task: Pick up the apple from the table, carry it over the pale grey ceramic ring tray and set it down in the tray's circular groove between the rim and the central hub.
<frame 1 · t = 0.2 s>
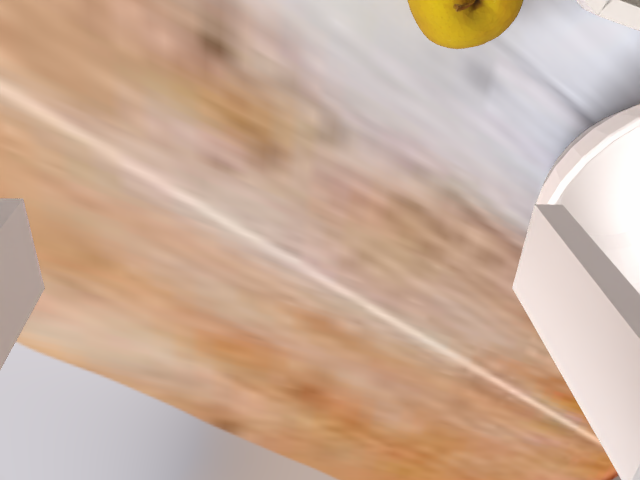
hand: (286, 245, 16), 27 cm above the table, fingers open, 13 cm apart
bowl: (615, 178, 47), on the table
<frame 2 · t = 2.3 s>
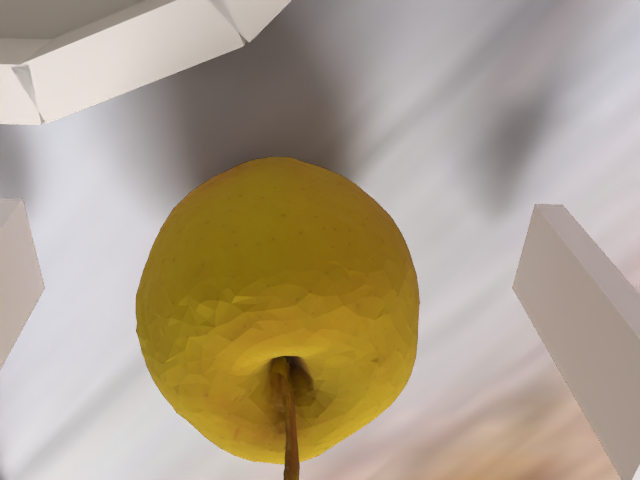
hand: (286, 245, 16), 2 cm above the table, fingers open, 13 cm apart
apple: (278, 212, 17), on the table
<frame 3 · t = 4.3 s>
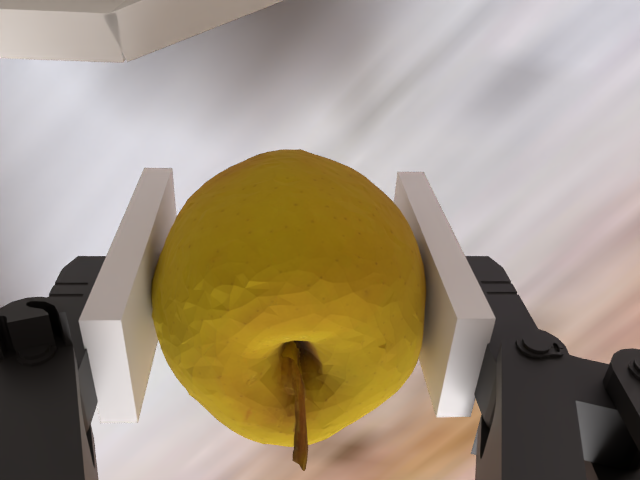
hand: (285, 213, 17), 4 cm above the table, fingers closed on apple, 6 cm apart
apple: (289, 205, 18), point 3 cm above the table, touching gripper
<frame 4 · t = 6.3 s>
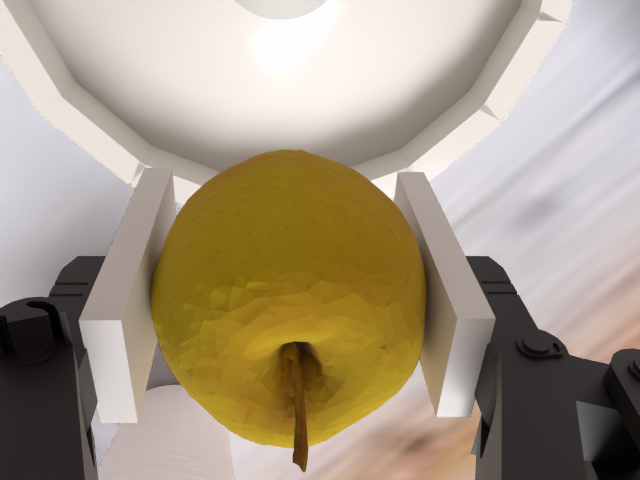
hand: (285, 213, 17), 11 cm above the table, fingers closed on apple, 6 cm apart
cup: (178, 413, 37), on the table
apple: (289, 205, 18), point 11 cm above the table, touching gripper
when the fingers open (3 cm above the table, at t = 8.2 s): apple drops 1 cm, resting on ring tray.
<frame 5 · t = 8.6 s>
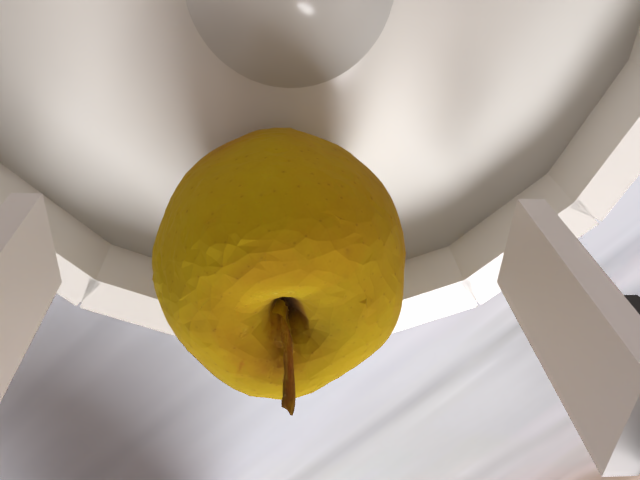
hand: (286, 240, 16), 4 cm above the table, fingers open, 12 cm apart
apple: (281, 185, 19), point 1 cm above the table, touching ring tray
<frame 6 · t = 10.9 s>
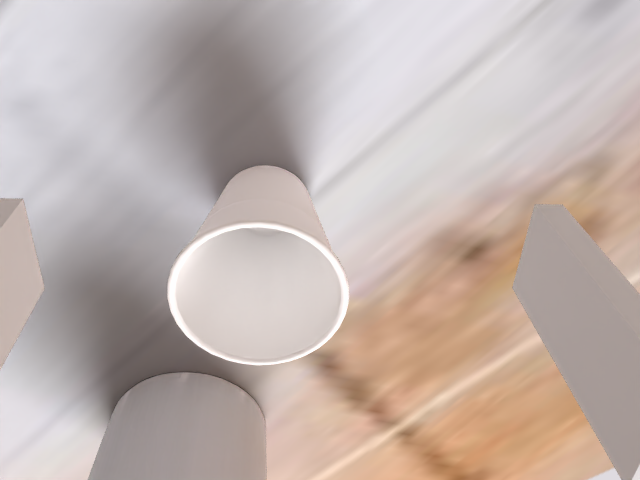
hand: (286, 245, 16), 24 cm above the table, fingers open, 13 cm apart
cup: (266, 201, 42), on the table
utensil holder: (191, 422, 54), on the table
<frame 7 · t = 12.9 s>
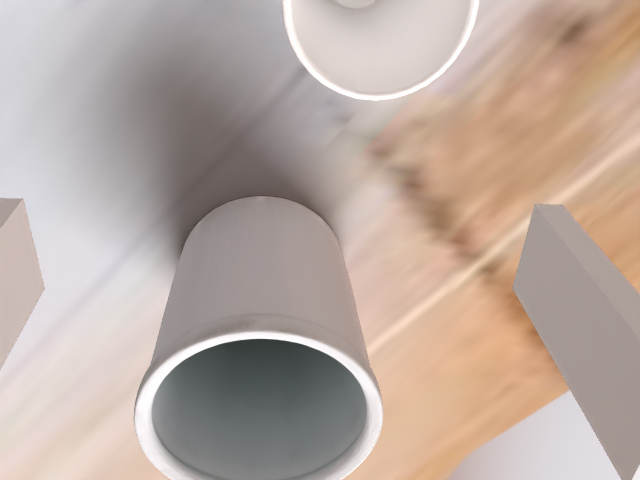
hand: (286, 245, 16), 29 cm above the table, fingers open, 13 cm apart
utensil holder: (264, 262, 51), on the table
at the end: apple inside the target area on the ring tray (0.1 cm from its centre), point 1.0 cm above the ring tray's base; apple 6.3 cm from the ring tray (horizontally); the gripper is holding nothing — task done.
